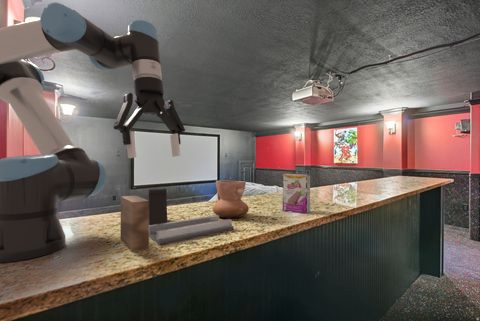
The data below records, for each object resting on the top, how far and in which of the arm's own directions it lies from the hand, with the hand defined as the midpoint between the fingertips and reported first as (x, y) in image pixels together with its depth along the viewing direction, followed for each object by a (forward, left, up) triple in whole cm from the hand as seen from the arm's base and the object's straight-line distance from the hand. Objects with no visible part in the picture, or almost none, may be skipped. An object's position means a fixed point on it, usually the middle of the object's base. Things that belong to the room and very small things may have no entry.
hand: (156, 157), depth 67 cm
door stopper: (+8, +21, -23) cm, 32 cm away
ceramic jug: (+35, +14, -23) cm, 44 cm away
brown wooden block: (-5, +2, -23) cm, 24 cm away
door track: (+12, +2, -23) cm, 26 cm away
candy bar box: (+63, +3, -23) cm, 67 cm away
